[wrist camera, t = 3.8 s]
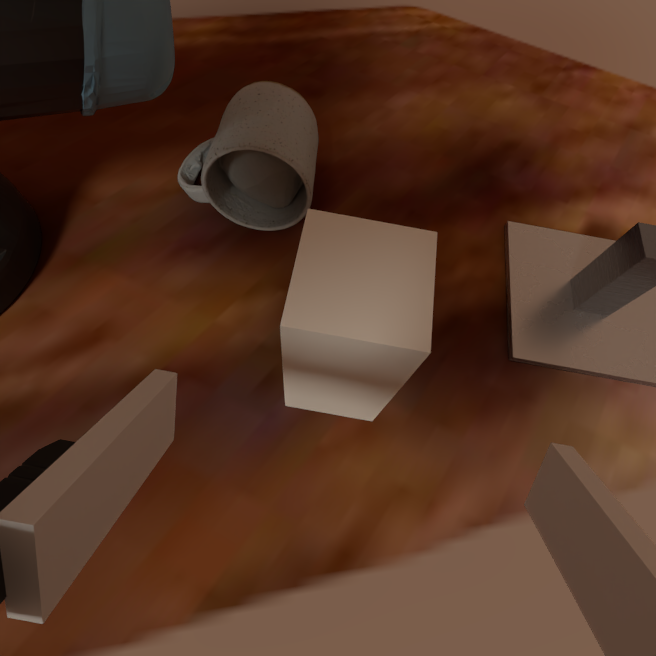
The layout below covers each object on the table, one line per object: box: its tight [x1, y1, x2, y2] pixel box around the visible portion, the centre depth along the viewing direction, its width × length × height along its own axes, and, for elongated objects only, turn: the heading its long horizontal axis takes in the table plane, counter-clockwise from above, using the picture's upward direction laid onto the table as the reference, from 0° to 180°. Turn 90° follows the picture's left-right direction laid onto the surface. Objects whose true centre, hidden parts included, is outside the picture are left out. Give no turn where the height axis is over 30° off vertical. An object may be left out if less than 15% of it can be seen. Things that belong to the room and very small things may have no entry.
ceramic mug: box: [178, 81, 319, 231], centre depth 29 cm, size 11×8×8 cm
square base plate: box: [504, 221, 656, 387], centre depth 27 cm, size 12×12×7 cm
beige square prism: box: [280, 209, 437, 421], centre depth 21 cm, size 6×6×12 cm
